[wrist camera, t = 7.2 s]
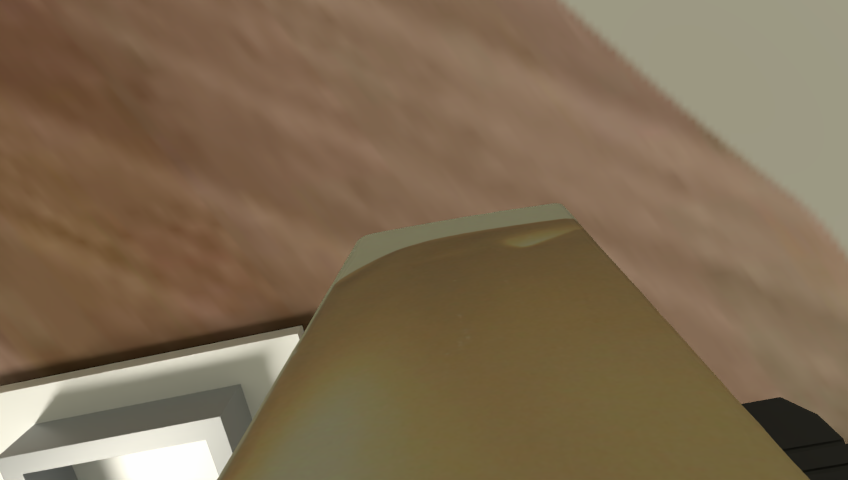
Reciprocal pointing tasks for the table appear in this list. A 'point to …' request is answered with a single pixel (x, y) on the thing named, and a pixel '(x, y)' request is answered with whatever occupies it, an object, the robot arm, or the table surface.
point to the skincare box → (497, 370)
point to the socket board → (141, 413)
